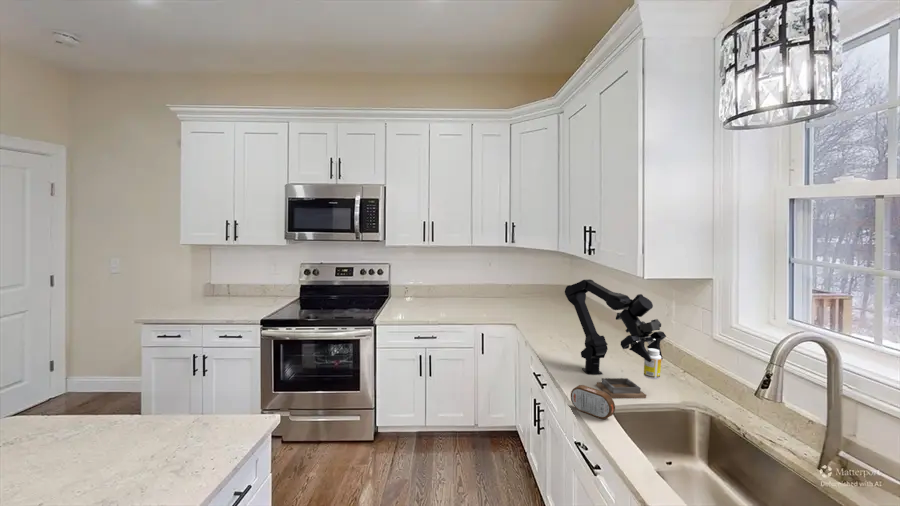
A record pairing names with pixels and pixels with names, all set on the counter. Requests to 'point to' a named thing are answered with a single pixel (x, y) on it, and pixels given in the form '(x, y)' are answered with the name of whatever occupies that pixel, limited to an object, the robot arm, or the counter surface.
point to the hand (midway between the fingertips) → (656, 360)
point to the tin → (592, 401)
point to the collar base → (620, 388)
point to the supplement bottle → (653, 364)
